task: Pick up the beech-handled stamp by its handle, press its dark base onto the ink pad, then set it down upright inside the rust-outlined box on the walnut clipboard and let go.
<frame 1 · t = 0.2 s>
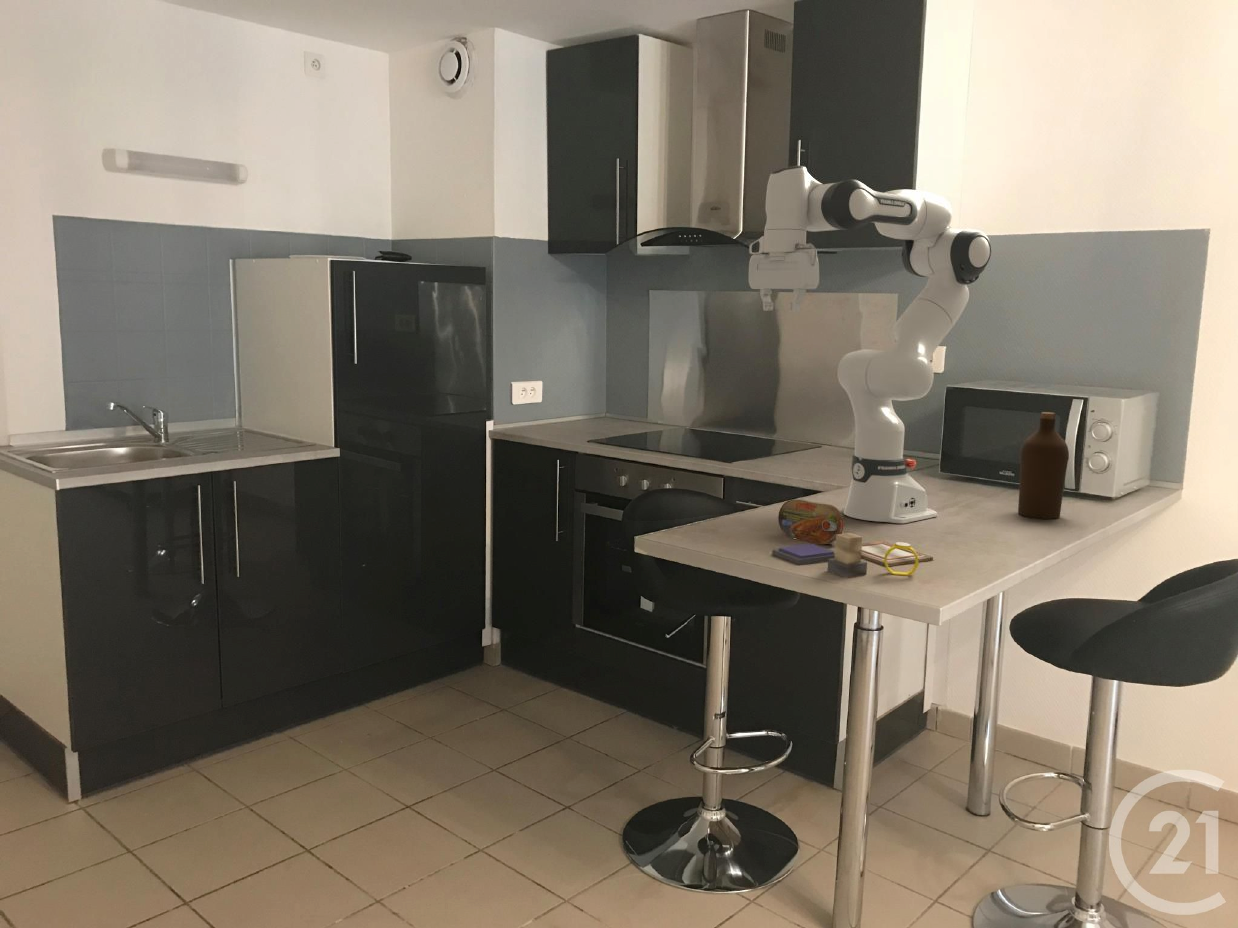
hand: (781, 311, 210), 48 cm above the worktop, tool pointing down, fingers open, 8 cm apart
olive oil: (1039, 516, 238), on the worktop
stamp: (846, 572, 182), on the worktop
tin: (809, 541, 207), on the worktop
ink pad: (805, 557, 193), on the worktop
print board: (884, 554, 196), on the worktop
watch: (900, 575, 182), on the worktop
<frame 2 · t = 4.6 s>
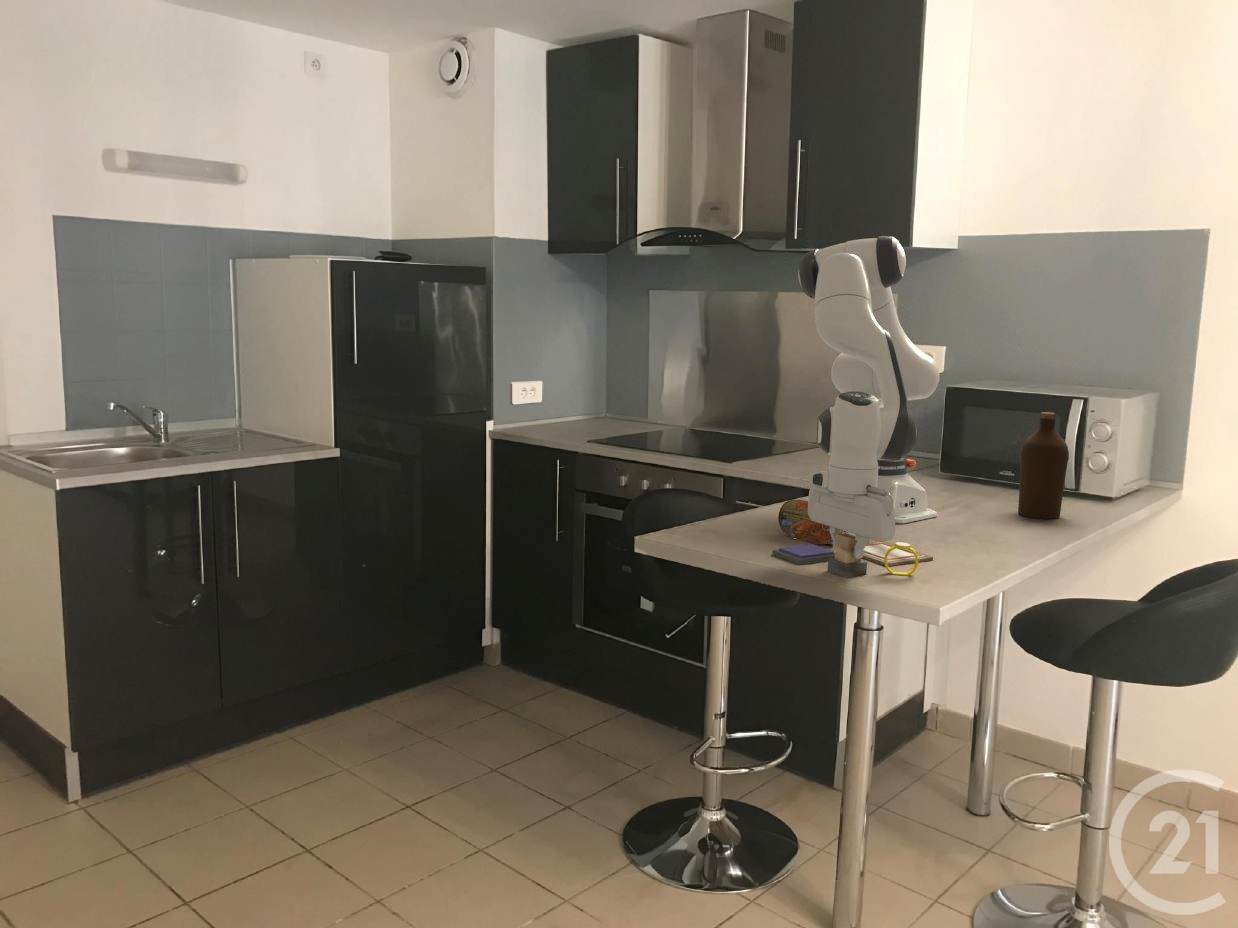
hand: (847, 554, 182), 3 cm above the worktop, tool pointing down, fingers closed on stamp, 3 cm apart
stamp: (846, 572, 182), on the worktop, touching gripper
everything else where it was.
when the fingers open (5 cm above the worktop, at t = 14.6 s): stamp stays where it is, resting on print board.
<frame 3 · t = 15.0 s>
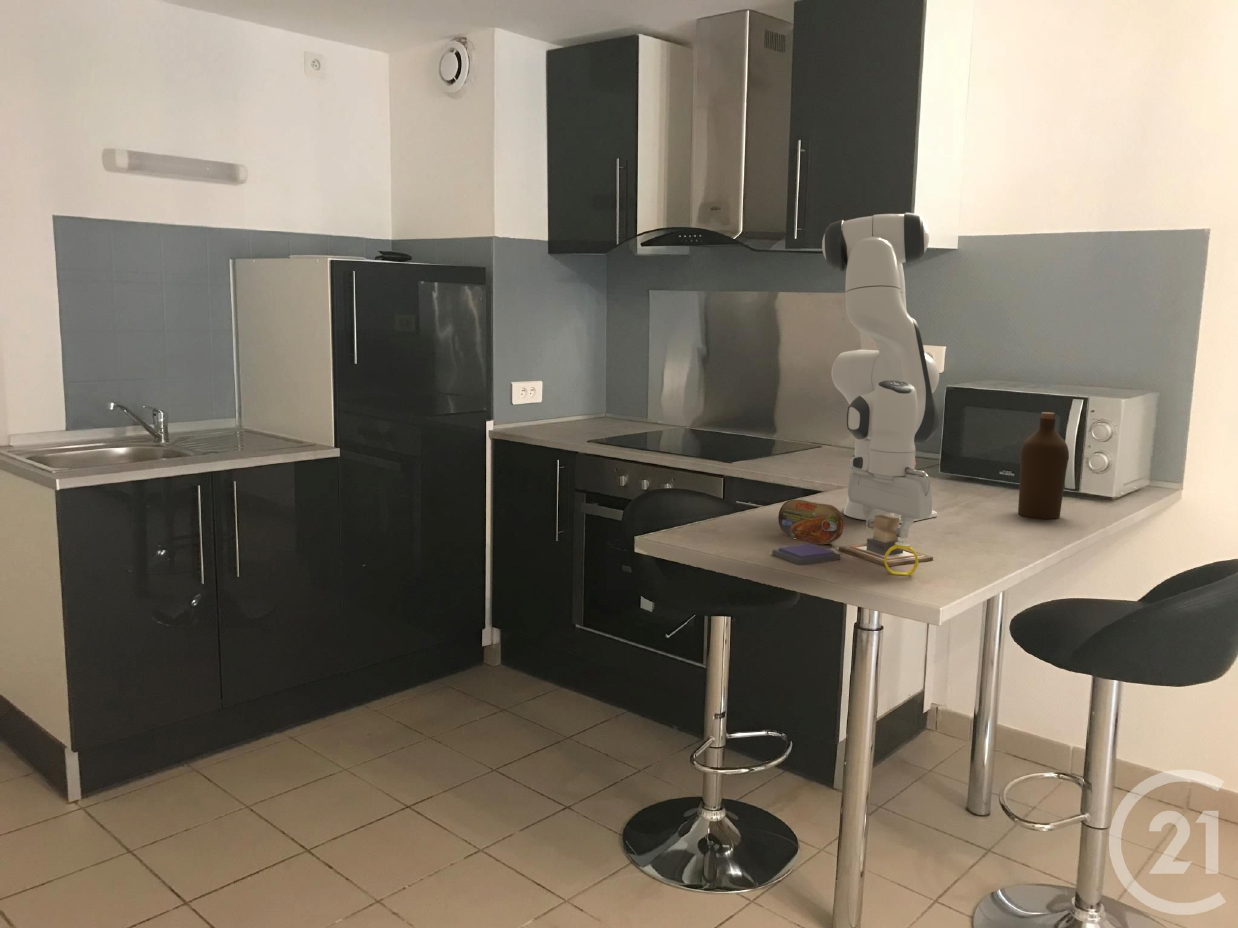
hand: (886, 532, 195), 5 cm above the worktop, tool pointing down, fingers open, 7 cm apart
stamp: (884, 551, 196), point 1 cm above the worktop, touching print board
everything else where it was.
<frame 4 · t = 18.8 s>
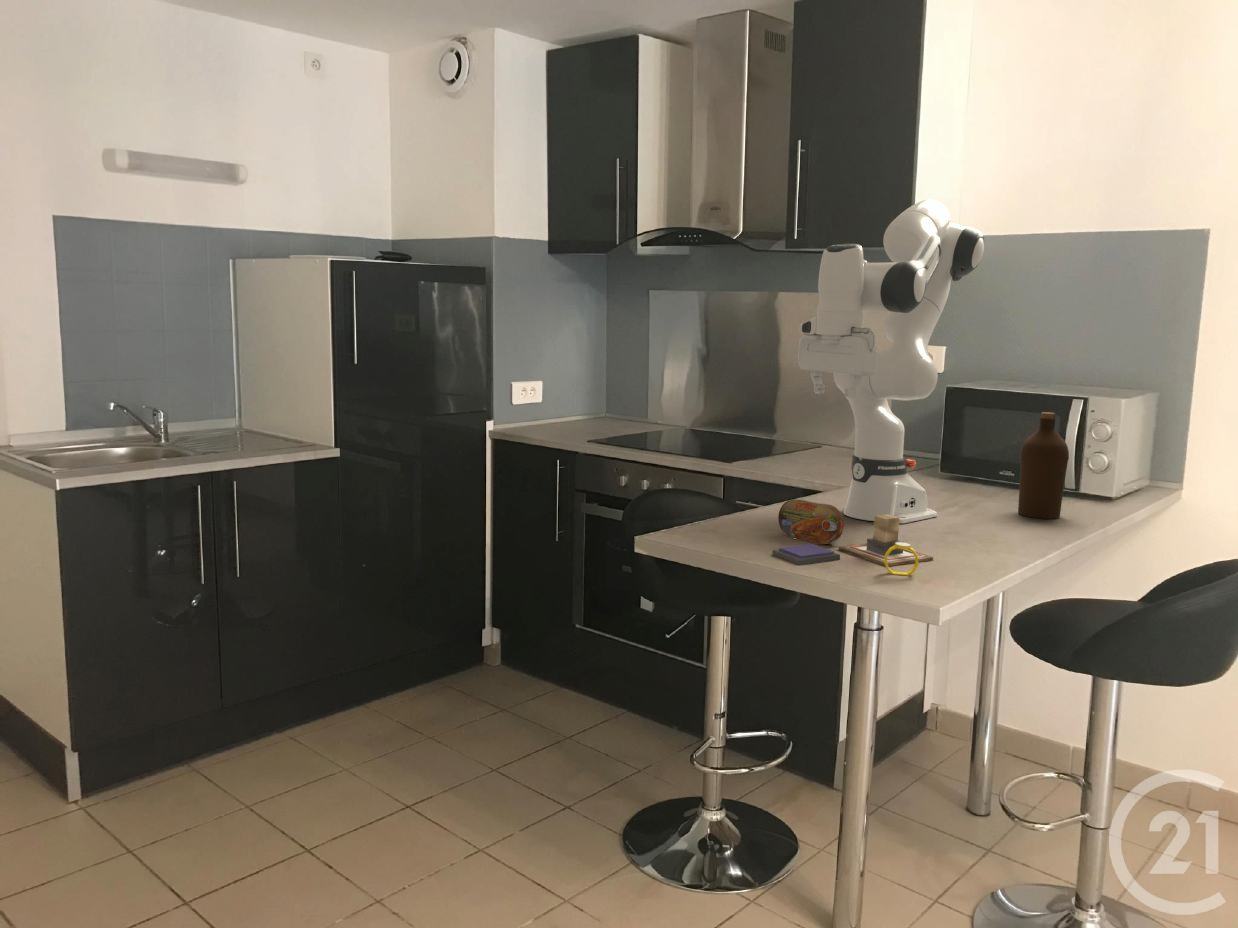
hand: (834, 395, 198), 31 cm above the worktop, tool pointing down, fingers open, 8 cm apart
nothing on the worktop moved.
at the end: stamp inside the target area on the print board (0.1 cm from its centre), point 0.7 cm above the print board's base; stamp tilted 0°; the gripper is holding nothing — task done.
